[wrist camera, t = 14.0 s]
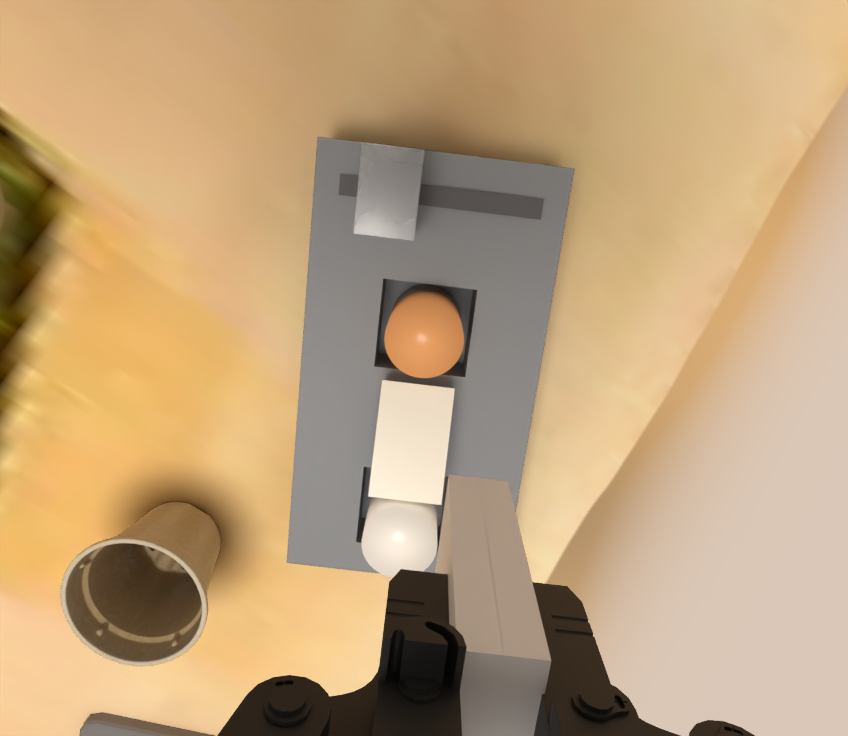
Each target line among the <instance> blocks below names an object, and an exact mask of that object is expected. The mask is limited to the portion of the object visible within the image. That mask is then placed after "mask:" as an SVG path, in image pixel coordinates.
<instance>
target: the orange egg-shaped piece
mask: <svg viewBox="0 0 848 736" xmlns="http://www.w3.org/2000/svg"><path fill="white" fill-rule="evenodd" d="M384 342H385V348H386V352H387V354H388V356H389V358H390V360H391V361H392V363H393V364H394V365H395V366H396V367H397V368H398V369H399V370H401V371H402V372H404V373H405V374H408V375H410V376H413V377H417V378H432V377H436V376H439V375H441V374H443V373H445V372H447V371H448V370H449V369H451V368H452V367H453V366H454V365H455V363H456V362H457V361H458V359H459V357H460V355H461V353H462V350H463V346H464V333H463V328H462V323H461V317H460V312H459V308H458V306H457V304H456V302H455V300H454V299H453V298H452V297H451V295H450V294H448V293H447V292H446V291H444V290H443V289H441V288H439V287H436V286H431V285H420V286H416V287H413V288H410V289H408V290H407V291H405V292H404V293H403V294H402V295H401V296H400V297H399V298H398V299H397V301H396V302H395V304H394V306H393V309H392V312H391V315H390V318H389V321H388V324H387V327H386V330H385V337H384Z"/></svg>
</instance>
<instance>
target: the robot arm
mask: <svg viewBox="0 0 848 736" xmlns="http://www.w3.org/2000/svg"><path fill="white" fill-rule="evenodd" d="M218 736H679V735H677V734H674V733H671V732H668V731H665V730H663V729H660V728H658V727H655V726H653V725H651V724H648V723H646V722H645V721H643V720H641V719H640V718H639V717H638V715H637V712H636V710H635V708H634V706H633V705H632V703H631V701H630V700H629V698H628V697H627V696H626V695H624V694H623V693H622V692H621V691H620V690H619V689H618V688H616V687H615V686H612V685H611V684H610V681H609V678H608V675H607V673H606V670H605V666H604V664H603V661H602V658H601V655H600V652H599V649H598V646H597V644H596V641H595V638H594V637H593V632H592V629H591V627H590V624H589V623H588V618H587V615H586V612H585V609H584V607H583V604H582V602H581V601H580V600H579V598H578V597H577V596H576V595H575V594H574V593H573V592H572V591H571V590H570V589H569V588H568V587H567V586H560V585H551V584H542V583H534V582H532V579H531V575H530V570H529V566H528V562H527V558H526V554H525V550H524V546H523V542H522V537H521V533H520V529H519V525H518V521H517V517H516V513H515V509H514V505H513V500H512V496H511V492H510V488H509V484H508V481H501V480H492V479H484V478H475V477H467V476H458V475H449V476H448V484H447V491H446V498H445V505H444V512H443V519H442V526H441V533H440V541H439V548H438V555H437V562H436V569H435V573H431V572H422V571H414V570H405V569H400V571H399V572H398V573H397V574H396V575H395V576H394V577H393V579H392V580H391V581H390V582H389V590H388V598H387V606H386V615H385V623H384V631H383V640H382V648H381V657H380V665H379V669H378V672H377V674H376V675H375V677H374V678H373V680H372V681H371V682H369V683H368V684H367V685H366V686H364V687H363V688H361V689H359V690H356V691H354V692H351V693H347V694H343V695H338V696H331V697H329V695H328V693H327V692H326V691H325V690H324V689H323V688H322V687H321V686H320V685H319V684H318V683H316V682H314V681H312V680H310V679H308V678H306V677H299V676H292V675H287V676H280V677H273V678H271V679H269V680H266V681H264V682H262V683H260V684H258V685H257V686H256V687H255V688H254V689H253V690H251V691H250V692H249V693H248V694H247V696H246V697H245V698H244V700H243V701H242V702H241V704H240V705H239V707H238V708H237V709H236V711H235V712H234V714H233V715H232V716H231V718H230V719H229V720H228V722H227V723H226V725H225V726H224V727H223V729H222V730H221V732H220V733H219V734H218ZM689 736H754V735H753V734H751V733H749V732H748V731H746V730H744V729H743V728H741V727H738V726H735V725H733V724H729V723H727V722H723V721H712V720H707V721H704V722H701V723H698V724H696V725H695V726H694V728H693V729H692V730H691V731H690V733H689Z"/></svg>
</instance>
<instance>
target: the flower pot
mask: <svg viewBox="0 0 848 736" xmlns="http://www.w3.org/2000/svg"><path fill="white" fill-rule="evenodd" d="M220 546H221V540H220V534H219V530H218V528H217V526H216V524H215V522H214V521H213V519H212V518H211V517H210V516H209V515H208V514H206V513H204V512H202V511H200V510H199V509H197V508H196V507H194V506H193V505H192V504H188V503H183V502H169V503H165V504H162V505H159V506H157V507H155V508H154V509H152V510H151V511H150V512H148V513H147V514H146V515H145V516H144V517H142V518H141V519H140V520H138V521H137V522H136V523H134V524H133V525H132V526H130V527H129V528H128V529H126V530H125V531H124V532H122V533H121V534H119V535H118V536H116V537H113V538H111V539H106V540H103V541H100V542H98V543H95V544H93V545H91V546H89V547H88V548H86V549H85V550H84V551H82V552H81V553H80V554H79V555H78V556H77V557H76V558H75V559H74V560H73V561H72V562H71V563H70V565H69V567H68V568H67V570H66V572H65V574H64V577H63V580H62V585H61V593H60V595H61V605H62V608H63V612H64V615H65V618H66V619H67V622H68V624H69V625H70V627H71V629H72V630H73V632H74V633H75V634H76V636H77V637H78V638H79V639H80V640H81V642H82V643H84V644H85V645H86V646H88V647H89V648H90V649H91V650H93V651H94V652H95V653H97V654H99V655H100V656H103V657H104V658H106V659H109V660H112V661H115V662H117V663H119V664H125V665H132V666H153V665H158V664H162V663H165V662H168V661H171V660H173V659H175V658H177V657H179V656H181V655H182V654H184V653H185V652H187V651H188V650H189V649H190V648H191V647H192V646H193V645H194V644H195V643H196V641H197V640H198V639H199V637H200V636H201V634H202V632H203V629H204V627H205V624H206V620H207V614H208V601H207V589H208V586H209V582H210V579H211V576H212V573H213V569H214V566H215V563H216V560H217V557H218V555H219V551H220ZM151 548H154V550H152V549H151ZM182 567H183V568H184V569H183V568H182Z"/></svg>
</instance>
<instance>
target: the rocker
mask: <svg viewBox="0 0 848 736" xmlns="http://www.w3.org/2000/svg"><path fill="white" fill-rule="evenodd" d="M454 392H455V389H454V388H446V387H437V386H429V385H420V384H412V383H404V382H395V381H387V380H382V386H381V394H380V402H379V411H378V419H377V427H376V435H375V444H374V452H373V460H372V468H371V477H370V485H369V493H368V497H376V498H385V499H394V500H402V501H411V502H419V503H428V504H437V505H441V503H442V495H443V486H444V478H445V469H446V461H447V452H448V443H449V435H450V426H451V418H452V409H453V400H454Z"/></svg>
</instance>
